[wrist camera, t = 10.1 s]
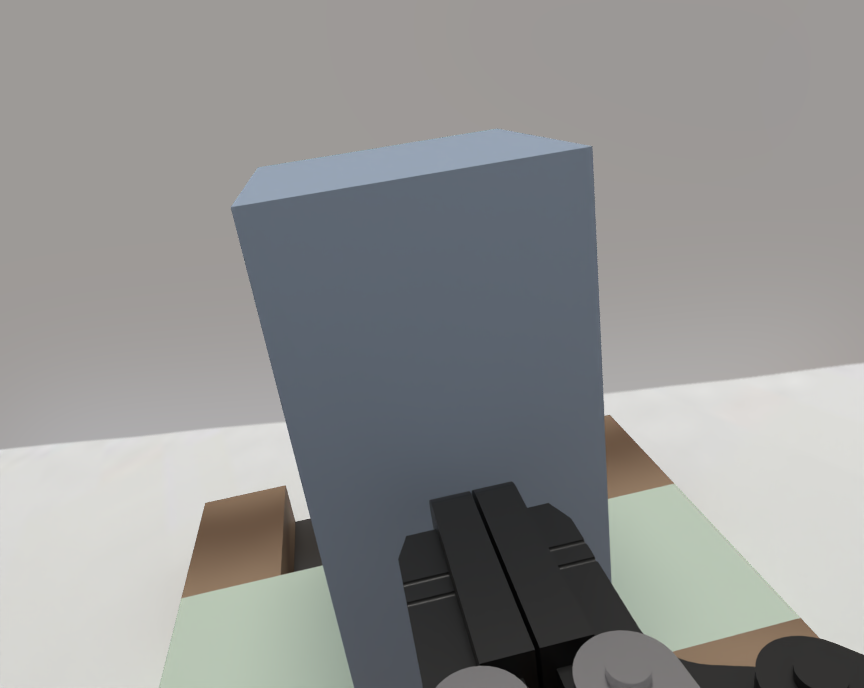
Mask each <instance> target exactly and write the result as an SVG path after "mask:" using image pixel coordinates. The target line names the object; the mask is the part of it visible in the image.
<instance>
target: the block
mask: <svg viewBox="0 0 864 688" xmlns="http://www.w3.org/2000/svg"><path fill="white" fill-rule="evenodd" d="M231 210H232V214H233V218H234V222H235V225H236V230H237V233H238V237H239V241H240V245H241V249H242V253H243V256H244V261H245V265H246V268H247V272H248V276H249V280H250V284H251V288H252V291H253V295H254V300H255V303H256V307H257V311H258V315H259V319H260V323H261V327H262V331H263V334H264V338H265V342H266V346H267V350H268V354H269V358H270V362H271V366H272V370H273V374H274V378H275V381H276V385H277V389H278V393H279V397H280V401H281V405H282V409H283V413H284V416H285V420H286V424H287V428H288V432H289V436H290V440H291V444H292V448H293V452H294V455H295V459H296V463H297V467H298V471H299V475H300V479H301V483H302V487H303V490H304V494H305V498H306V502H307V506H308V510H309V514H310V518H311V522H312V526H313V529H314V533H315V537H316V541H317V545H318V549H319V553H320V557H321V561H322V564H323V568H324V572H325V576H326V580H327V584H328V588H329V592H330V596H331V600H332V603H333V607H334V611H335V615H336V619H337V623H338V627H339V631H340V635H341V638H342V642H343V646H344V650H345V654H346V658H347V662H348V666H349V670H350V674H351V677H352V681H353V685H354V688H423V686H422V680H421V675H420V670H419V664H418V659H417V654H416V649H415V644H414V639H413V633H412V628H411V623H410V618H409V613H408V608H407V602H406V597H405V592H404V587H403V582H402V577H401V572H400V566H399V561H398V558H399V555H400V552H401V549H402V547H403V544H404V541H405V538H406V536H408V535H413V534H417V533H421V532H426V531H430V530H434V529H433V523H432V517H431V511H430V504H429V500H431V499H436V498H440V497H445V496H449V495H454V494H458V493H462V492H467V491H470V493H471V494H472V490H475V489H479V488H484V487H488V486H493V485H497V484H502V483H506V482H510V481H512V482H513V483H514V484H515V486H516V487H517V489H518V491H519V493H520V495H521V497H522V499H523V501H524V503H525V504H526V506H527V508H529V507H533V506H537V505H542V504H546V503H549V504H551V505H552V506H554V507H555V508H557V509H558V510H560V511H561V512H563V513H564V514H566V515H567V516H569V517H570V518H571V519H572V521H573V522H574V524H575V525H576V527H577V529H578V530H579V532H580V533H581V535H582V537H583V538H584V541H585V544H586V543H587V545H588V546H589V548H590V550H591V551H592V553H593V554H594V556H595V560H596V561H598V562H599V564H600V566H601V567H602V569H603V571H604V572H605V574H606V575H607V577H608V579H609V580H610V582H611V559H610V537H609V514H608V491H607V469H606V446H605V423H604V401H603V378H602V356H601V333H600V310H599V288H598V265H597V243H596V219H595V197H594V174H593V151H592V146H588V145H582V144H577V143H572V142H566V141H561V140H555V139H550V138H545V137H539V136H534V135H528V134H523V133H518V132H512V131H507V130H502V129H492V130H485V131H480V132H473V133H467V134H462V135H455V136H449V137H442V138H437V139H431V140H424V141H418V142H412V143H406V144H399V145H393V146H387V147H381V148H375V149H369V150H362V151H356V152H350V153H345V154H338V155H332V156H326V157H319V158H313V159H307V160H301V161H295V162H289V163H282V164H277V165H270V166H264V167H258V168H257V170H256V171H255V173H254V174H253V175H252V177H251V178H250V180H249V181H248V183H247V184H246V186H245V187H244V189H243V190H242V192H241V193H240V195H239V196H238V197H237V199H236V200H235V202H234V203H233V205H232V206H231ZM611 583H612V582H611Z"/></svg>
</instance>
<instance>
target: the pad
mask: <svg viewBox="0 0 864 688" xmlns="http://www.w3.org/2000/svg"><path fill="white" fill-rule="evenodd" d="M608 514H609V537H610V559H611V582H612V585H613V587H614V588H615V590H616V591H617V593H618V595H619V596H620V598H621V600H622V601H623V603H624V604H625V606H626V608H627V609H628V611H629V612H630V614H631V616H632V617H633V619H634V621H635V622H636V624H637V625H638V627H639V628H640V630H641V631H642V632H643V634H645V635H648V636H650V637H652V638H654V639H656V640H658V641H659V642H661V643H663V644H664V645H665V646H667V647H668V648H669V649H670V650H671V651H672V652H673V651H677V650H681V649H684V648H688V647H692V646H696V645H700V644H703V643H707V642H711V641H715V640H719V639H722V638H726V637H730V636H734V635H737V634H741V633H745V632H749V631H753V630H756V629H760V628H764V627H768V626H772V625H776V624H779V623H783V622H787V621H791V620H795V619H798V618H800V617H799V616H798V615H797V614H796V613H795V612H794V611H793V610H792V608H791V607H790V606H789V605H788V604H787V603H786V602H785V601H784V600H783V599H782V598H781V597H780V596H779V595H778V594H777V592H776V591H775V590H774V589H773V588H772V587H771V586H770V585H769V584H768V583H767V582H766V581H765V580H764V579H763V578H762V577H761V575H760V574H759V573H758V572H757V571H756V570H755V569H754V568H753V567H752V566H751V565H750V564H749V563H748V562H747V561H746V559H745V558H744V557H743V556H742V555H741V554H740V553H739V552H738V551H737V550H736V549H735V548H734V547H733V546H732V545H731V544H730V542H729V541H728V540H727V539H726V538H725V537H724V536H723V535H722V534H721V533H720V532H719V531H718V530H717V529H716V528H715V526H714V525H713V524H712V523H711V522H710V521H709V520H708V519H707V518H706V517H705V516H704V515H703V514H702V513H701V512H700V511H699V509H698V508H697V507H696V506H695V505H694V504H693V503H692V502H691V501H690V500H689V499H688V498H687V497H686V496H685V495H684V493H683V492H682V491H681V490H680V489H679V488H678V487H677V486H676V485H675V484H670V485H666V486H662V487H657V488H653V489H649V490H644V491H640V492H636V493H632V494H627V495H623V496H619V497H614V498H610V499H608ZM159 688H354V685H353V681H352V677H351V674H350V670H349V666H348V662H347V658H346V654H345V650H344V646H343V642H342V638H341V635H340V631H339V627H338V623H337V619H336V615H335V611H334V607H333V603H332V600H331V596H330V592H329V588H328V584H327V580H326V576H325V572H324V568H323V565H322V566H318V567H314V568H310V569H305V570H301V571H297V572H292V573H288V574H284V575H279V576H275V577H271V578H267V579H262V580H258V581H254V582H249V583H245V584H241V585H237V586H232V587H228V588H224V589H219V590H215V591H211V592H206V593H202V594H198V595H194V596H189V597H185V598H181V602H180V606H179V610H178V614H177V618H176V622H175V626H174V630H173V634H172V638H171V642H170V646H169V650H168V654H167V658H166V662H165V666H164V670H163V674H162V678H161V682H160V686H159Z"/></svg>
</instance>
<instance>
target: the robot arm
mask: <svg viewBox="0 0 864 688" xmlns="http://www.w3.org/2000/svg"><path fill="white" fill-rule="evenodd" d="M429 504H430V511H431V517H432V523H433V529H434V530H430V531H426V532H421V533H417V534H413V535H408V536H406V538H405V541H404V544H403V547H402V549H401V552H400V555H399V558H398V561H399V566H400V572H401V577H402V582H403V587H404V592H405V597H406V602H407V608H408V613H409V618H410V623H411V628H412V633H413V639H414V644H415V649H416V654H417V659H418V664H419V670H420V675H421V680H422V686H423V688H864V655H863V654H860V653H858V652H855V651H853V650H850V649H848V648H845V647H843V646H840V645H838V644H835V643H832V642H829V641H827V640H824V639H819V638H815V637H809V636H788V637H782V638H779V639H776V640H773V641H772V642H770V643H768V644H767V645H766V646H764V647H763V648H762V649H761V651H760V652H759V654H758V656H757V659H756V663H755V667H754V666H729V665H708V664H699V663H694V662H689V661H686V660H683V659H680V658H677V656H676V655H675V654H674V653H673V652H672V651H671V650H670V649H669V648H668V647H667V646H665V645H664V644H663V643H661V642H659V641H658V640H656V639H654V638H652V637H650V636H648V635H645V634H643V632H642V631H641V630H640V628H639V627H638V625H637V624H636V622H635V621H634V619H633V617H632V616H631V614H630V612H629V611H628V609H627V608H626V606H625V604H624V603H623V601H622V600H621V598H620V596H619V595H618V593H617V591H616V590H615V588H614V587H613V585H612V583H611V582H610V580H609V579H608V577H607V575H606V574H605V572H604V571H603V569H602V567H601V566H600V564H599V562H598V561H596V560H595V556H594V554H593V553H592V551H591V550H590V548H589V546H588V545H587V543H586V544H585V541H584V538H583V537H582V535H581V533H580V532H579V530H578V529H577V527H576V525H575V524H574V522H573V521H572V519H571V518H570V517H569V516H567V515H566V514H564V513H563V512H561V511H560V510H558V509H557V508H555V507H554V506H552V505H551V504H549V503H546V504H542V505H537V506H533V507H529V508H527V506H526V504H525V503H524V501H523V499H522V497H521V495H520V493H519V491H518V489H517V487H516V486H515V484H514V483H513V482H512V481H510V482H506V483H502V484H497V485H493V486H488V487H484V488H479V489H475V490H472V494H471V493H470V491H467V492H462V493H458V494H454V495H449V496H445V497H440V498H436V499H431V500H429Z"/></svg>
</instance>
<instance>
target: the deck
mask: <svg viewBox="0 0 864 688" xmlns="http://www.w3.org/2000/svg"><path fill="white" fill-rule="evenodd" d="M604 423H605V446H606V469H607V491H608V499H610V498H614V497H619V496H623V495H627V494H632V493H636V492H640V491H644V490H649V489H653V488H657V487H662V486H666V485H670V484H674V483H673V482H672V481H671V480H670V479H669V477H668V476H667V475H666V474H665V473H664V472H663V471H662V470H661V469H660V468H659V467H658V466H657V465H656V464H655V463H654V461H653V460H652V459H651V458H650V457H649V456H648V455H647V454H646V453H645V452H644V451H643V450H642V449H641V448H640V447H639V446H638V444H637V443H636V442H635V441H634V440H633V439H632V438H631V437H630V436H629V435H628V434H627V433H626V432H625V431H624V430H623V428H622V427H621V426H620V425H619V424H618V423H617V422H616V421H615V420H614V419H613V418H612V417H611V416H610V415H607V416H604ZM322 565H323V564H322V561H321V557H320V553H319V549H318V545H317V541H316V537H315V533H314V529H313V526H312V522H311V519H306V520H302V521H297V522H295V519H294V515H293V511H292V507H291V504H290V500H289V496H288V492H287V489H286V486H281V487H276V488H272V489H267V490H263V491H258V492H254V493H249V494H244V495H240V496H235V497H231V498H226V499H221V500H217V501H212V502H208V503H205V506H204V510H203V514H202V518H201V522H200V526H199V530H198V534H197V538H196V542H195V546H194V550H193V554H192V558H191V562H190V566H189V570H188V574H187V578H186V582H185V586H184V590H183V594H182V598H185V597H189V596H194V595H198V594H202V593H206V592H211V591H215V590H219V589H224V588H228V587H232V586H237V585H241V584H245V583H249V582H254V581H258V580H262V579H267V578H271V577H275V576H279V575H284V574H288V573H292V572H297V571H301V570H305V569H310V568H314V567H318V566H322ZM788 636H809V637H815V638H819V637H818V636H817V635H816V634H815V633H814V632H813V631H812V630H811V629H810V628H809V626H808V625H807V624H806V623H805V622H804V621H803V620H802V619H801V618H798V619H795V620H791V621H787V622H783V623H779V624H776V625H772V626H768V627H764V628H760V629H756V630H753V631H749V632H745V633H741V634H737V635H734V636H730V637H726V638H722V639H719V640H715V641H711V642H707V643H703V644H700V645H696V646H692V647H688V648H684V649H681V650H677V651H673V653H674V654H675V655H676V656H677V658H680V659H683V660H686V661H689V662H694V663H699V664H708V665H729V666H754V667H755V663H756V659H757V656H758V654H759V652H760V651H761V649H762V648H763V647H764V646H766V645H767V644H768V643H770V642H772V641H773V640H776V639H779V638H782V637H788ZM819 639H820V638H819Z"/></svg>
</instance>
